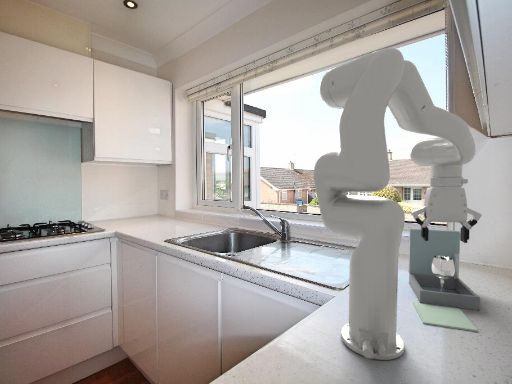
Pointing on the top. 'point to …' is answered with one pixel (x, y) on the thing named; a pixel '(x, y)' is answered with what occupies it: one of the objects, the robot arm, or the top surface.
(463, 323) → the mat
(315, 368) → the top surface
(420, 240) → the case
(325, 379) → the top surface
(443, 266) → the wineglass
